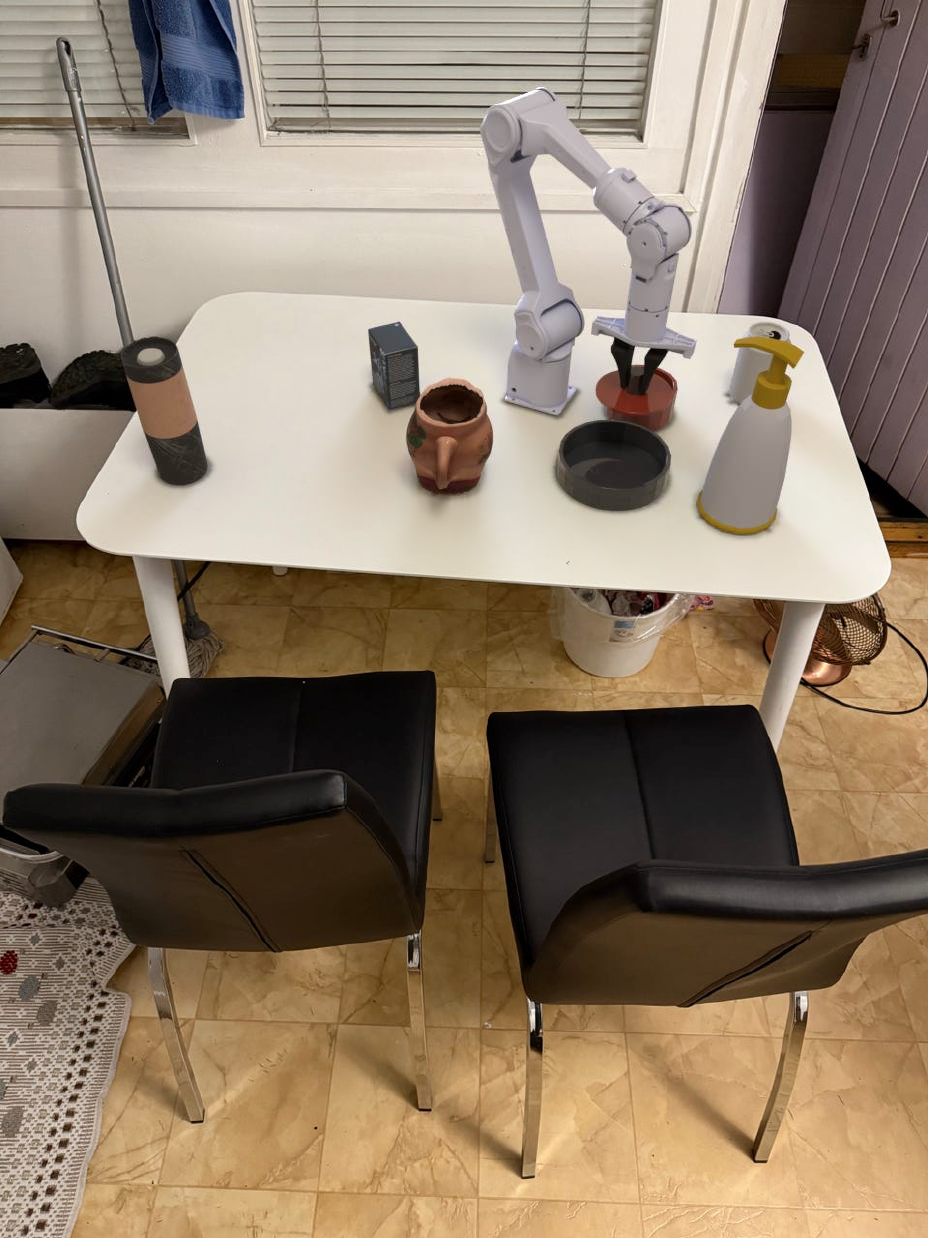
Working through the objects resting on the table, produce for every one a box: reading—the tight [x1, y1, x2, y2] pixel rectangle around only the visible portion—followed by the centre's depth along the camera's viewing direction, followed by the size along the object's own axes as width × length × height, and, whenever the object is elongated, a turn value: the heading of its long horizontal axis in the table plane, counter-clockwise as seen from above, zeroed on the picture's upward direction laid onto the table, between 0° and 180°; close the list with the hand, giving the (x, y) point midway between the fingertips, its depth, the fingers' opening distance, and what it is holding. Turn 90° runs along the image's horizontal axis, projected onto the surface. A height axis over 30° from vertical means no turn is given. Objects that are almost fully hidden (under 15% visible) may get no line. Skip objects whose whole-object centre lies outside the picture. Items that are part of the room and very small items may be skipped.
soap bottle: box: [696, 336, 805, 535], centre depth 121 cm, size 11×12×26 cm
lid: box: [594, 366, 673, 416], centre depth 133 cm, size 11×11×4 cm
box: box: [367, 321, 421, 411], centre depth 145 cm, size 8×6×11 cm
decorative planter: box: [405, 377, 494, 496], centre depth 129 cm, size 20×12×14 cm, turn 0°
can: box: [728, 321, 792, 405], centre depth 144 cm, size 8×8×12 cm
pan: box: [556, 419, 672, 512], centre depth 134 cm, size 16×16×4 cm
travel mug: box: [120, 336, 208, 486], centre depth 129 cm, size 8×8×20 cm
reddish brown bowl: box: [605, 364, 679, 432], centre depth 144 cm, size 10×10×5 cm
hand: (634, 387), depth 134 cm, fingers closed on lid, 2 cm apart
